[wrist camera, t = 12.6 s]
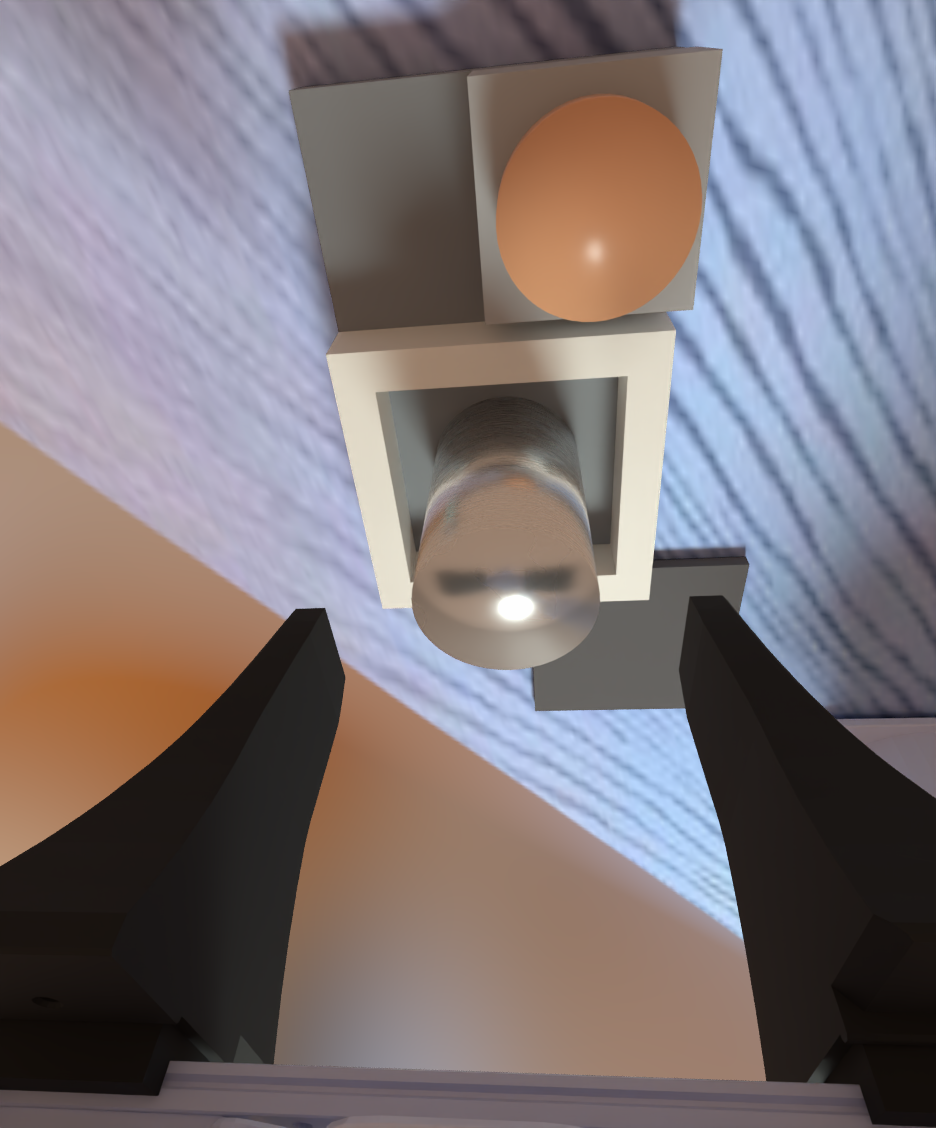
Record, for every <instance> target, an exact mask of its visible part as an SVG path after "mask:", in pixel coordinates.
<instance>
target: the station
mask: <svg viewBox="0 0 936 1128" xmlns="http://www.w3.org/2000/svg"><path fill="white" fill-rule="evenodd" d="M722 50H723V49H716V48H707V47H689V48H685V47H668V48H659V49H650V50H640V51H631V52H622V53H613V54H604V55H594V56H585V57H576V58H567V59H558V60H548V61H539V62H530V63H521V64H511V65H502V66H493V67H484V68H475V69H465V70H456V71H447V72H438V73H429V74H419V75H410V76H401V77H392V78H382V79H373V80H364V81H355V82H346V83H336V84H327V85H318V86H309V87H300V88H297V89H293V90H290V91H289V95H290V100H291V105H292V110H293V114H294V119H295V124H296V129H297V134H298V138H299V143H300V148H301V153H302V158H303V163H304V167H305V172H306V177H307V182H308V187H309V191H310V196H311V201H312V206H313V211H314V215H315V220H316V225H317V230H318V235H319V240H320V244H321V249H322V254H323V259H324V264H325V268H326V273H327V278H328V283H329V288H330V292H331V297H332V302H333V307H334V312H335V317H336V321H337V326H338V331H339V333H338V334H337V336H336V338H335V340H334V341H333V343H332V345H331V347H330V348H329V350H328V352H327V354H326V357H327V362H328V366H329V371H330V375H331V380H332V384H333V389H334V393H335V398H336V402H337V406H338V411H339V415H340V420H341V424H342V429H343V433H344V438H345V442H346V447H347V451H348V456H349V460H350V464H351V469H352V473H353V478H354V482H355V487H356V491H357V496H358V500H359V505H360V509H361V514H362V518H363V522H364V527H365V531H366V536H367V540H368V545H369V549H370V554H371V558H372V563H373V567H374V572H375V576H376V580H377V585H378V589H379V594H380V598H381V603H382V607H383V609H389V608H412V601H411V597H412V587H413V582H414V576H415V570H416V565H417V559H418V553H419V548H420V542H421V537H422V531H423V525H424V520H425V514H426V508H427V503H428V497H429V491H430V486H431V480H432V474H433V469H434V463H435V457H436V452H437V447H438V443H439V440H440V438H441V436H442V434H443V432H444V430H445V428H446V427H447V426H448V424H449V423H450V422H451V421H452V420H453V419H454V418H455V417H456V416H457V415H458V414H459V413H460V412H462V411H463V410H464V409H466V408H468V407H470V406H471V405H473V404H475V403H478V402H481V401H483V400H487V399H491V398H497V397H518V398H524V399H528V400H532V401H535V402H537V403H540V404H542V405H544V406H546V407H547V408H549V409H551V410H552V411H553V412H555V413H556V414H557V415H558V416H559V417H560V418H561V419H562V420H563V421H564V422H565V423H566V425H567V426H568V427H569V429H570V431H571V432H572V434H573V436H574V439H575V442H576V445H577V450H578V455H579V462H580V468H581V475H582V481H583V488H584V494H585V501H586V507H587V513H588V520H589V526H590V533H591V539H592V546H593V552H594V558H595V565H596V571H597V578H598V584H599V591H600V602H602V601H633V600H649V595H650V585H651V575H652V565H653V555H654V545H655V535H656V525H657V515H658V505H659V495H660V485H661V475H662V465H663V455H664V445H665V435H666V425H667V415H668V405H669V395H670V385H671V375H672V365H673V355H674V345H675V335H676V329H675V328H674V326H673V324H672V322H671V320H670V318H669V316H668V315H667V313H666V312H668V311H682V310H693V305H694V297H695V288H696V279H697V270H698V261H699V252H700V244H701V235H702V226H703V217H704V208H705V200H706V191H707V182H708V173H709V164H710V156H711V147H712V138H713V129H714V120H715V111H716V103H717V94H718V85H719V76H720V67H721V59H722ZM592 94H617V95H624V96H627V97H630V98H633V99H637V100H639V101H641V102H643V103H645V104H647V105H649V106H650V107H652V108H654V109H656V110H657V111H658V112H660V113H661V114H663V115H664V116H665V117H667V118H668V119H669V120H670V121H671V122H672V123H673V124H674V125H675V126H676V127H677V128H678V129H679V130H680V132H681V133H682V135H683V136H684V137H685V139H686V140H687V142H688V144H689V146H690V148H691V150H692V151H693V154H694V156H695V159H696V162H697V165H698V168H699V173H700V178H701V186H702V211H701V217H700V223H699V228H698V231H697V234H696V238H695V241H694V243H693V246H692V248H691V250H690V253H689V255H688V257H687V258H686V260H685V262H684V264H683V266H682V267H681V269H680V270H679V271H678V273H677V274H676V276H675V277H674V278H673V279H672V281H671V282H670V283H669V284H668V285H667V286H666V287H665V288H664V289H663V290H662V291H661V292H660V293H659V294H658V295H657V296H656V297H654V298H653V299H652V300H650V301H649V302H647V303H646V304H645V305H643V306H641V307H640V308H638V309H636V310H634V311H632V312H630V313H628V314H625V315H623V316H620V317H617V318H613V319H610V320H605V321H597V322H579V321H571V320H567V319H563V318H559V317H557V316H554V315H552V314H550V313H547V312H546V311H544V310H542V309H541V308H539V307H537V306H536V305H535V304H533V303H532V302H531V301H530V300H528V299H527V298H526V297H525V296H524V294H523V293H522V292H521V291H520V290H519V289H518V288H517V286H516V285H515V283H514V282H513V281H512V279H511V277H510V275H509V274H508V272H507V270H506V268H505V265H504V263H503V260H502V258H501V254H500V250H499V246H498V241H497V233H496V209H497V199H498V191H499V187H500V183H501V179H502V175H503V173H504V170H505V167H506V164H507V162H508V160H509V158H510V156H511V154H512V152H513V150H514V149H515V147H516V146H517V144H518V143H519V141H520V140H521V138H522V137H523V136H524V135H525V133H526V132H527V131H528V130H529V129H530V128H531V126H532V125H534V124H535V123H536V122H537V121H538V120H539V119H540V118H541V117H542V116H544V115H545V114H547V113H548V112H549V111H551V110H552V109H554V108H555V107H557V106H559V105H561V104H563V103H565V102H567V101H570V100H573V99H576V98H579V97H581V96H587V95H592Z"/></svg>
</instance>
